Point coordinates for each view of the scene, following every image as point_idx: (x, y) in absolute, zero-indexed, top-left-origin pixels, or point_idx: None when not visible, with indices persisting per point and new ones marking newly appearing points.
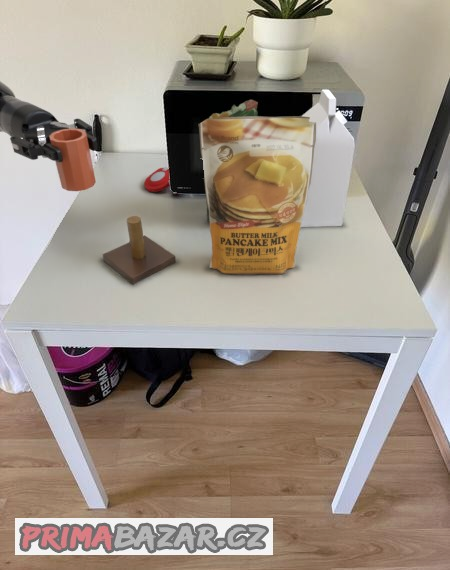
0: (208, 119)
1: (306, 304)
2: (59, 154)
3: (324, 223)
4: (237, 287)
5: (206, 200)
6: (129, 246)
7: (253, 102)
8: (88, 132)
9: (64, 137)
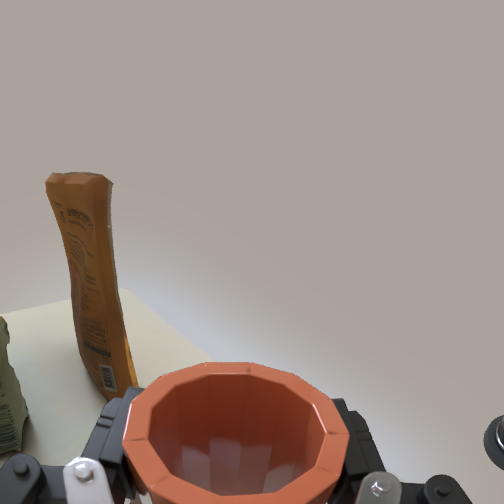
0: (101, 176)
1: (142, 330)
2: None
3: None
4: (154, 375)
5: (9, 417)
6: None
7: None
8: (60, 466)
9: None
